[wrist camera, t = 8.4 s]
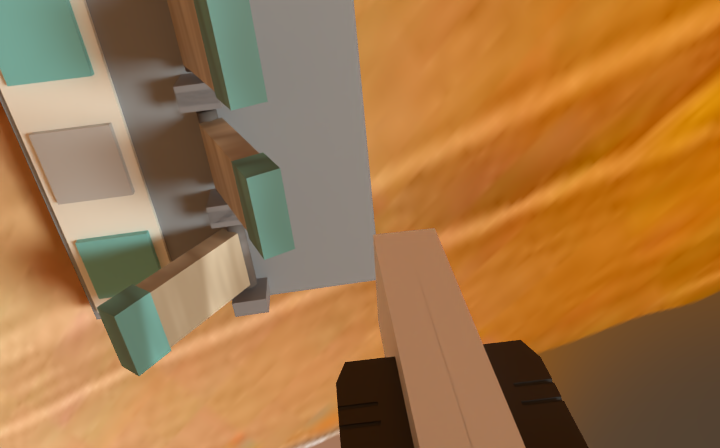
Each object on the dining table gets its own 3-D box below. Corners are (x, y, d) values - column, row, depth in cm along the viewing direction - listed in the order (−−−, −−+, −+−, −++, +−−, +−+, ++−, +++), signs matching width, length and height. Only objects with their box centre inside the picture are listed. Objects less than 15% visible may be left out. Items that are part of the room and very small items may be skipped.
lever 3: (246, 276, 34) (123, 370, 28) (231, 214, 32) (94, 302, 26) (263, 282, 33) (140, 380, 27) (248, 219, 31) (112, 311, 25)
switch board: (106, 299, 36) (85, 343, 33) (-44, -55, 26) (-98, -48, 22) (375, 261, 37) (384, 300, 33) (341, -97, 26) (348, -97, 23)
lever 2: (210, 188, 30) (265, 265, 23) (190, 111, 28) (244, 171, 21) (235, 181, 31) (296, 254, 24) (217, 105, 28) (279, 161, 21)
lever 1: (179, 70, 27) (232, 118, 20) (153, -29, 24) (203, -13, 18) (207, 64, 27) (269, 109, 20) (184, -33, 25) (245, -20, 18)
